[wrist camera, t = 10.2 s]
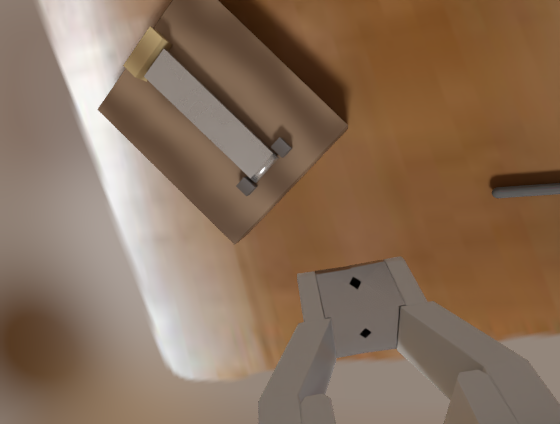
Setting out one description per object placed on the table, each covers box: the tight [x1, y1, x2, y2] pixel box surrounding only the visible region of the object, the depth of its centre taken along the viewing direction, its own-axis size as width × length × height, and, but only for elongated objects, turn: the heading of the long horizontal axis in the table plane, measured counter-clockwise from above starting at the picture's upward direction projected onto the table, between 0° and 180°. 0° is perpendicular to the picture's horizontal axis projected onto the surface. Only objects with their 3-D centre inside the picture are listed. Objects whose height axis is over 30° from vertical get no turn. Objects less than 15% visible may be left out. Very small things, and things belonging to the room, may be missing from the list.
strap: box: [144, 49, 279, 183], centre depth 31 cm, size 3×14×1 cm, turn 47°
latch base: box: [98, 0, 348, 244], centre depth 33 cm, size 16×20×6 cm
